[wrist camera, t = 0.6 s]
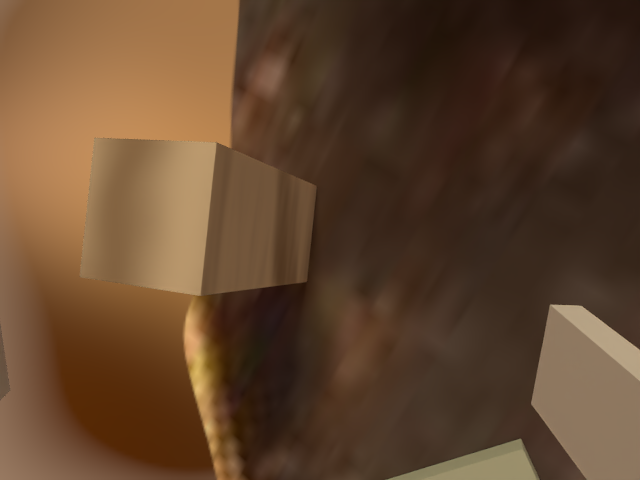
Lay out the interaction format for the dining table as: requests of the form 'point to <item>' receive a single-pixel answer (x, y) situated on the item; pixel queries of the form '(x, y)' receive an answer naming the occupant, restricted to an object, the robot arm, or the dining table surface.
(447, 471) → the sage board
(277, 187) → the maple block
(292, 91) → the dining table surface
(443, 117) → the dining table surface
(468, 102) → the dining table surface
